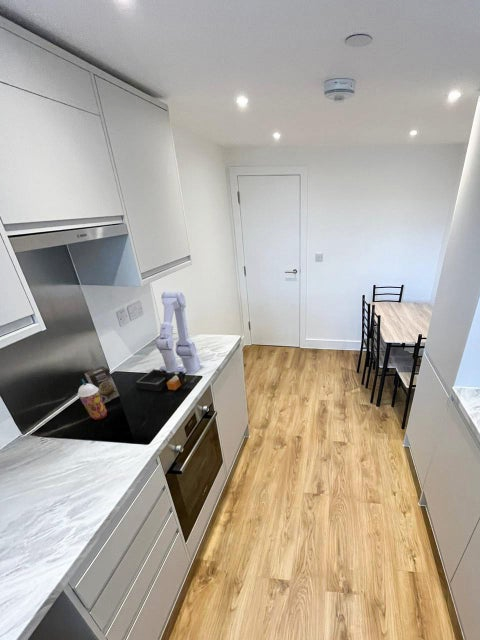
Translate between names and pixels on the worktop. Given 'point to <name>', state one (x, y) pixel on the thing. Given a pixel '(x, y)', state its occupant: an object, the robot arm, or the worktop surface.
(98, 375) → the coffee box
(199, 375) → the worktop surface
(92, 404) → the smoothie
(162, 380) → the dark grey tray
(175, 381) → the snack box
